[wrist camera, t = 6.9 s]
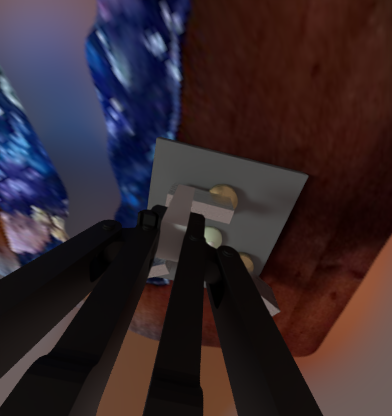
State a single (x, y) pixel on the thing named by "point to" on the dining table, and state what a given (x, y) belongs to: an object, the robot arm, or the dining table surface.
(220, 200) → the knob
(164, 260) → the knob
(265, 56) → the dining table surface
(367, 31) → the dining table surface
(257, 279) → the knob
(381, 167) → the dining table surface
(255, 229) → the base plate
